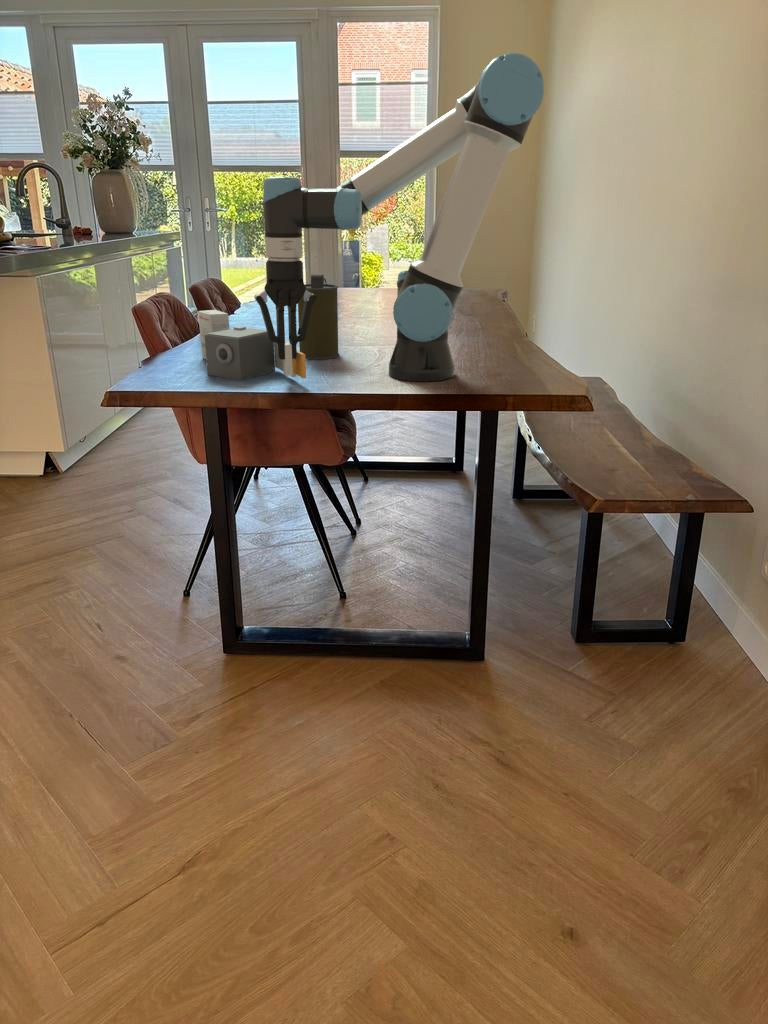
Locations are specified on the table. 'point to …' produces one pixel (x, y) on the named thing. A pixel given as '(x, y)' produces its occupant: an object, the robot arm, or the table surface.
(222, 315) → the ink box
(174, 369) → the table surface
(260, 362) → the camera body
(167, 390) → the table surface
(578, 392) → the table surface
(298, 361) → the side door
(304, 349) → the canister
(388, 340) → the table surface
